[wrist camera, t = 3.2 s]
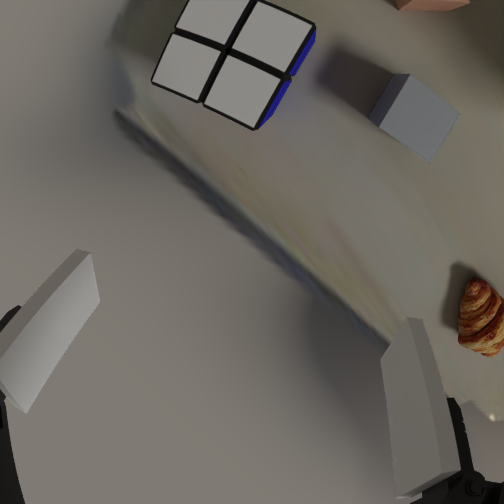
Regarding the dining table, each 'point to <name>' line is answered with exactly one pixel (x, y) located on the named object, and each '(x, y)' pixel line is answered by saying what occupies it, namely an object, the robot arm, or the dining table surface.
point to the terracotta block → (430, 4)
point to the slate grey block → (414, 115)
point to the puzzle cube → (234, 57)
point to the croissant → (481, 319)
